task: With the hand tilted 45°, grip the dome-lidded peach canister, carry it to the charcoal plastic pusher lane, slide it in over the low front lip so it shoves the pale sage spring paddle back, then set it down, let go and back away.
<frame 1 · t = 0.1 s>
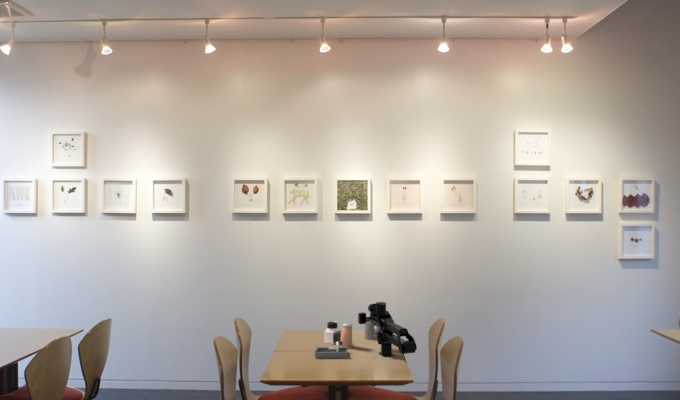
hand: (368, 314, 280), 17 cm above the table, tool horizontal, fingers open, 9 cm apart
medicine bottle: (332, 342, 281), on the table
pusher lane: (331, 355, 255), on the table
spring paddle: (333, 348, 256), point 4 cm above the table, slide at 0.0 cm
dome-lidded peach canister: (347, 346, 271), on the table
coffee mug: (373, 338, 288), on the table
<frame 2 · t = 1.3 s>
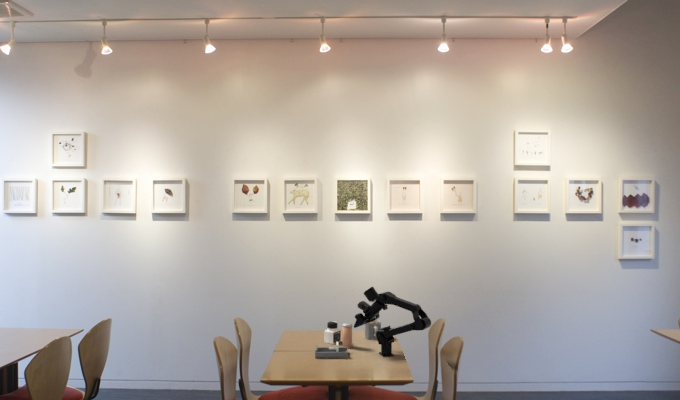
hand: (358, 325, 267), 13 cm above the table, tool tilted 45°, fingers open, 9 cm apart
nothing on the table moved.
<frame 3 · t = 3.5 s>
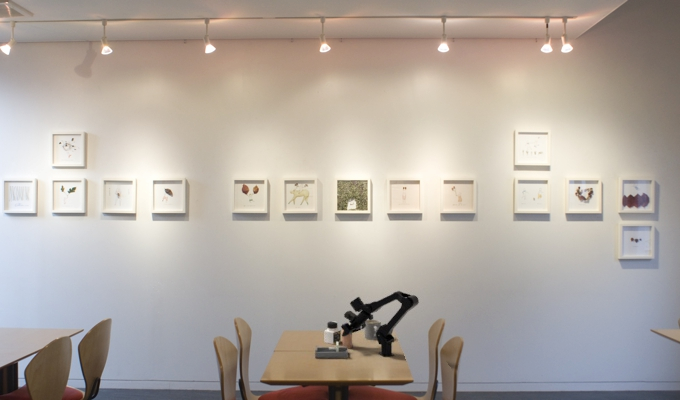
hand: (345, 334, 272), 7 cm above the table, tool tilted 45°, fingers closed on dome-lidded peach canister, 6 cm apart
dome-lidded peach canister: (347, 346, 271), on the table, touching gripper
everything else where it was.
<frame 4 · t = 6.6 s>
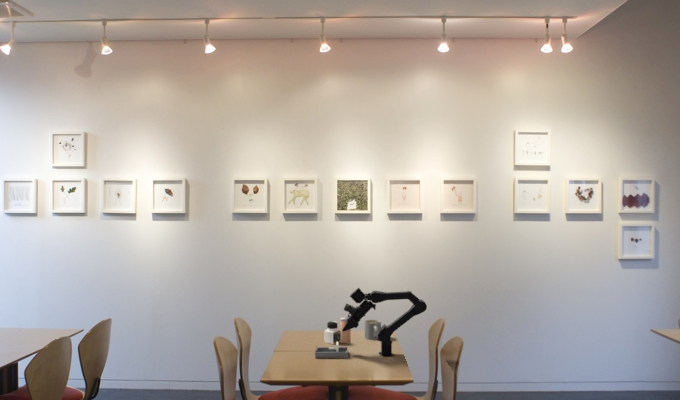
hand: (343, 329, 258), 13 cm above the table, tool tilted 45°, fingers closed on dome-lidded peach canister, 6 cm apart
dome-lidded peach canister: (345, 341, 258), point 7 cm above the table, touching gripper
everything else where it was.
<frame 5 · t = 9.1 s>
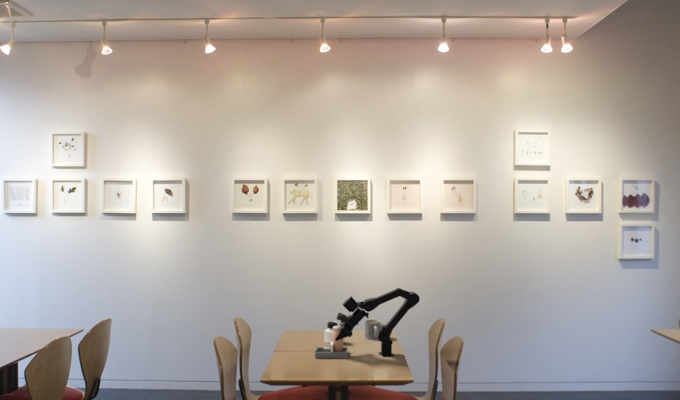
hand: (335, 338, 256), 9 cm above the table, tool tilted 45°, fingers closed on dome-lidded peach canister, 6 cm apart
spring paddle: (328, 348, 255), point 4 cm above the table, slide at 2.9 cm, touching dome-lidded peach canister
dome-lidded peach canister: (338, 350, 256), point 2 cm above the table, touching gripper, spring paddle
everything else where it was.
when the fingers open (7 cm above the table, at t = 10.0 s): dome-lidded peach canister stays where it is, resting on pusher lane, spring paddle.
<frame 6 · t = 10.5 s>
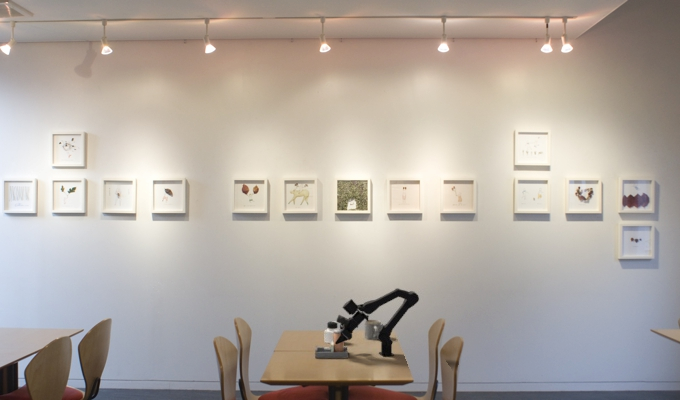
hand: (335, 341, 256), 8 cm above the table, tool tilted 45°, fingers open, 9 cm apart
dome-lidded peach canister: (338, 354, 256), resting on pusher lane, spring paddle
everything else where it was.
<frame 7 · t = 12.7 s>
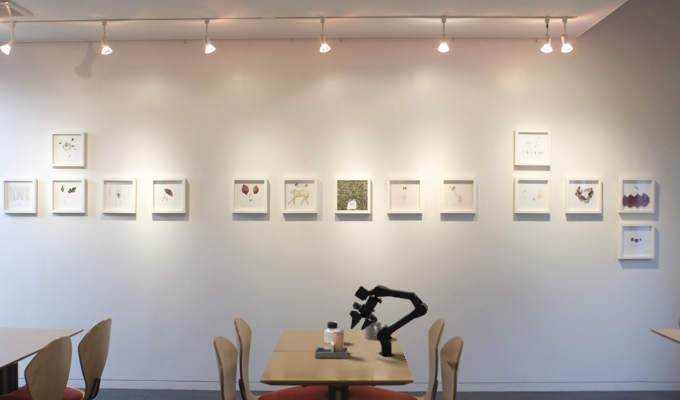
hand: (356, 329, 261), 13 cm above the table, tool tilted 30°, fingers open, 9 cm apart
nothing on the table moved.
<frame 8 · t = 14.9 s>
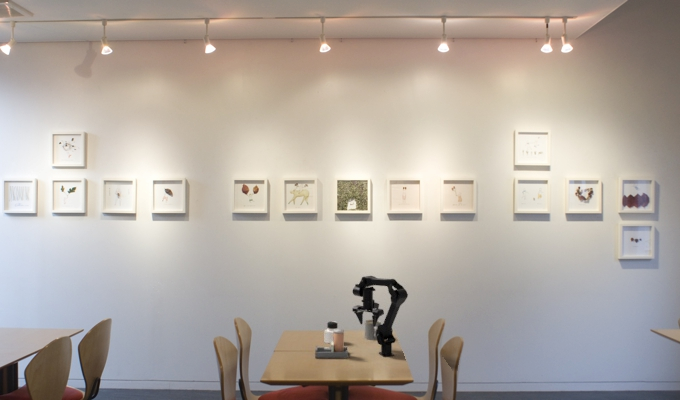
hand: (367, 325, 268), 13 cm above the table, tool pointing down, fingers open, 9 cm apart
nothing on the table moved.
at the end: dome-lidded peach canister 0.2 cm from the target spot on the pusher lane, point 0.5 cm above the pusher lane's base; dome-lidded peach canister tilted 0°; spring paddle slide at 2.7 cm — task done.
